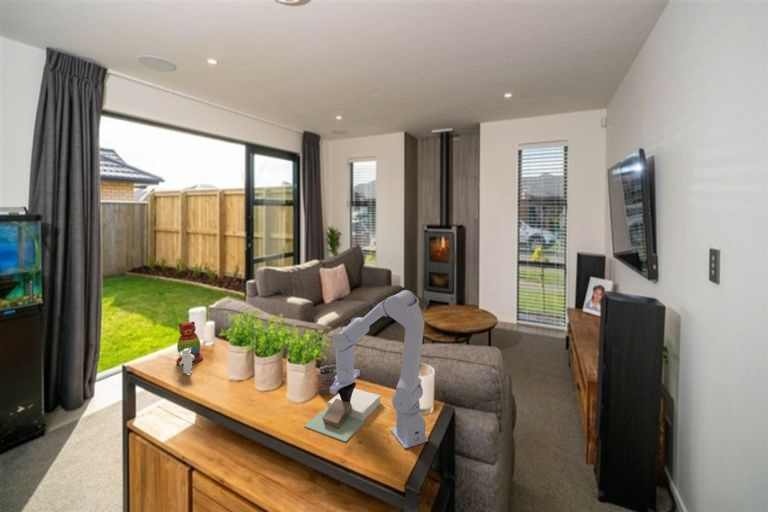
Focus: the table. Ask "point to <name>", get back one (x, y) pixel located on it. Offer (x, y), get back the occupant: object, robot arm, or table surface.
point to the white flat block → (360, 403)
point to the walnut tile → (337, 413)
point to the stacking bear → (189, 341)
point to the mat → (340, 434)
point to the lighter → (326, 378)
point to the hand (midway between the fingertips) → (346, 404)
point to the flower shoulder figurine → (186, 360)
